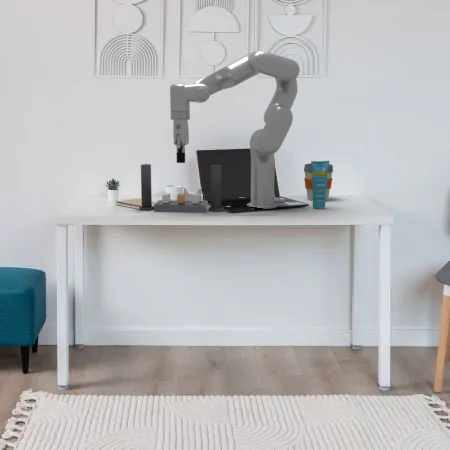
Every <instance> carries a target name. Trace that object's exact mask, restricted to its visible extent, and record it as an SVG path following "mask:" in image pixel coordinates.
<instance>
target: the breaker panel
mask: <svg viewBox="0 0 450 450" xmlns="http://www.w3.org/2000/svg"><path fill="white" fill-rule="evenodd" d="M153 206H154V210H153V211H154V212H156V213H158V212H160V213H205V212H206V211H207V210H208V209H209V206H208V200H203V201H200V202H199V203H198V204H196V203H192V201H191V200H185V202H184V203H177V199H175V200H174V199H170V202H169V203H162V199H158V200H157V202H156V203H154V205H153Z"/></svg>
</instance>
